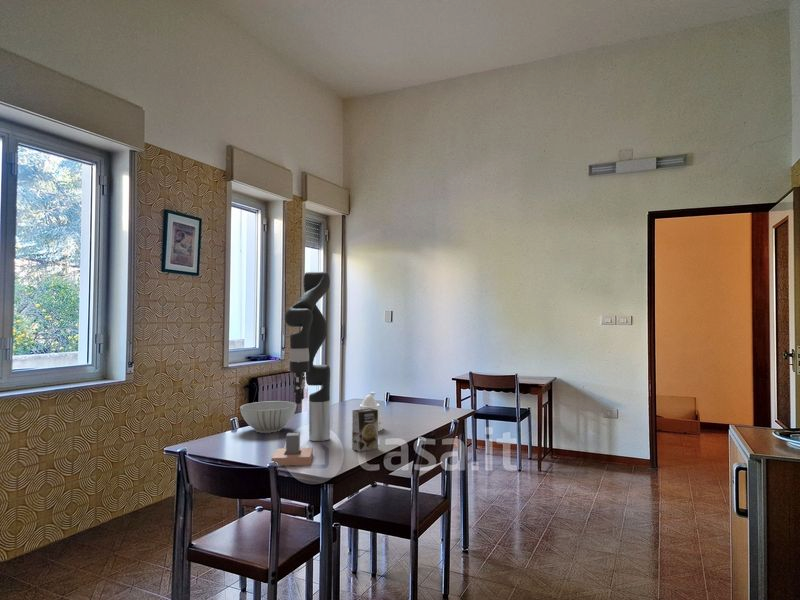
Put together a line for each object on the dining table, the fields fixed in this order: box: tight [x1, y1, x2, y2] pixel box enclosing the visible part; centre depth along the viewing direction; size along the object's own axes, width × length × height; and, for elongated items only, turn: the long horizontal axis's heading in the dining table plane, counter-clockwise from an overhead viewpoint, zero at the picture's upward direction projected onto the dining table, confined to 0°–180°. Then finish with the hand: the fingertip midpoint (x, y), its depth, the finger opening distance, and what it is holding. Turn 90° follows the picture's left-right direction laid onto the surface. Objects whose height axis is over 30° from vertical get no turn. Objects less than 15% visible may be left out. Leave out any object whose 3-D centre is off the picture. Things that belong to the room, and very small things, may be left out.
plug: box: [285, 432, 301, 455], centre depth 197 cm, size 5×5×10 cm
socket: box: [270, 447, 314, 467], centre depth 197 cm, size 14×14×3 cm
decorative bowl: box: [239, 400, 298, 434], centre depth 251 cm, size 27×27×12 cm
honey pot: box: [359, 391, 383, 432], centre depth 252 cm, size 13×13×18 cm
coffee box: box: [351, 408, 379, 452], centre depth 213 cm, size 9×6×16 cm
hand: (299, 401), depth 200 cm, fingers open, 8 cm apart
